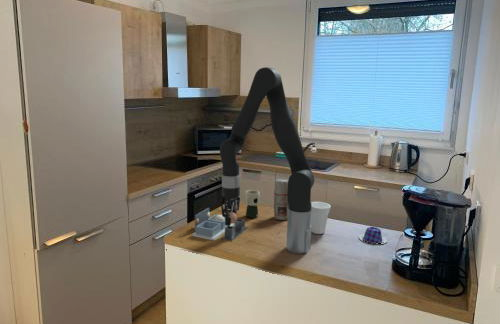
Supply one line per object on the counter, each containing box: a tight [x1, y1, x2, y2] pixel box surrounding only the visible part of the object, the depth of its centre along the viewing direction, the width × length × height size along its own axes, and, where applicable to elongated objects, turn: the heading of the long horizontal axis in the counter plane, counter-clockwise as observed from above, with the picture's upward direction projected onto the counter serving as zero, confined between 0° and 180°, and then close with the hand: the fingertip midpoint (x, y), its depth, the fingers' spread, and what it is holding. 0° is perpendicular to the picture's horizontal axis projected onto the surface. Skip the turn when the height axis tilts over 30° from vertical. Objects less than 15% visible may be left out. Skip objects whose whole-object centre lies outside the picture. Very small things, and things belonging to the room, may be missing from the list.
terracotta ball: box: [228, 212, 238, 224], centre depth 170 cm, size 5×5×5 cm
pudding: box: [358, 226, 388, 245], centre depth 174 cm, size 12×12×5 cm
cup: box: [310, 201, 332, 235], centre depth 179 cm, size 10×10×13 cm
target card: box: [194, 207, 211, 233], centre depth 181 cm, size 1×13×8 cm, turn 157°
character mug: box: [244, 189, 261, 218], centre depth 197 cm, size 11×7×13 cm, turn 149°
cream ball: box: [214, 214, 225, 222], centre depth 183 cm, size 5×5×5 cm
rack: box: [191, 213, 235, 241], centre depth 179 cm, size 11×20×4 cm, turn 157°
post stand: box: [221, 218, 248, 242], centre depth 176 cm, size 5×16×5 cm, turn 157°
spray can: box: [273, 178, 289, 221], centre depth 196 cm, size 8×8×20 cm
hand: (230, 223), depth 170 cm, fingers closed on terracotta ball, 5 cm apart
